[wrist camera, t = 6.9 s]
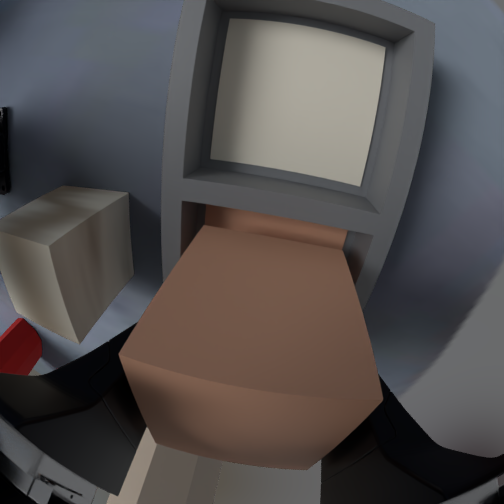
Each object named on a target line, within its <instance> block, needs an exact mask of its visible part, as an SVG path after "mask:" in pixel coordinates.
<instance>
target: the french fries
mask: <svg viewBox="0 0 504 504" xmlns="http://www.w3.org/2000/svg"><path fill="white" fill-rule="evenodd" d="M41 356H42V342H41V339H40V337H39V336H38V334H37V332H36V330H35V329H34V328H33V327H32V326H30V325H29V324H28V323H27V322H26V321H25V320H24V319H23V318H18V319H17V320H16V321H15V322H14V323H13V324H12V325H11V326H10V327H9V328H8V329H7V330H6V331H5V332H4V333H3V335H2V336H1V337H0V373H8V374H17V375H28V374H29V373H30V371H31V370H32V368H33V367H34V366H35V364H36V363H37V361H38V360H39V358H40V357H41Z"/></svg>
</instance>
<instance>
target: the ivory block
mask: <svg viewBox="0 0 504 504" xmlns="http://www.w3.org/2000/svg"><path fill="white" fill-rule="evenodd" d="M0 271H1V274H2V277H3V279H4V282H5V285H6V288H7V290H8V293H9V295H10V298H11V300H12V303H13V305H14V307H15V310H16V312H17V313H19V314H21V315H23V316H24V317H26V318H28V319H30V320H31V321H33V322H35V323H37V324H39V325H41V326H42V327H44V328H46V329H48V330H50V331H52V332H54V333H56V334H58V335H60V336H62V337H64V338H66V339H69V340H71V341H73V342H75V343H77V344H81V342H82V341H83V339H84V338H85V337H86V335H87V334H88V333H89V331H90V330H91V328H92V327H93V326H94V324H95V323H96V322H97V321H98V319H99V318H100V317H101V315H102V314H103V313H104V311H105V310H106V309H107V308H108V306H109V305H110V304H111V302H112V301H113V300H114V299H115V297H116V296H117V295H118V294H119V292H120V291H121V290H122V289H123V287H124V286H125V285H126V284H127V283H128V281H129V280H130V279H131V278H132V277H133V275H134V268H133V258H132V247H131V233H130V216H129V193H127V192H119V191H111V190H102V189H93V188H83V187H73V186H61V187H59V188H57V189H55V190H53V191H51V192H49V193H47V194H45V195H43V196H41V197H39V198H37V199H35V200H33V201H31V202H30V203H28V204H26V205H24V206H22V207H20V208H19V209H17V210H15V211H14V212H12V213H10V214H8V215H7V216H5V217H3V218H2V219H0Z"/></svg>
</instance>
